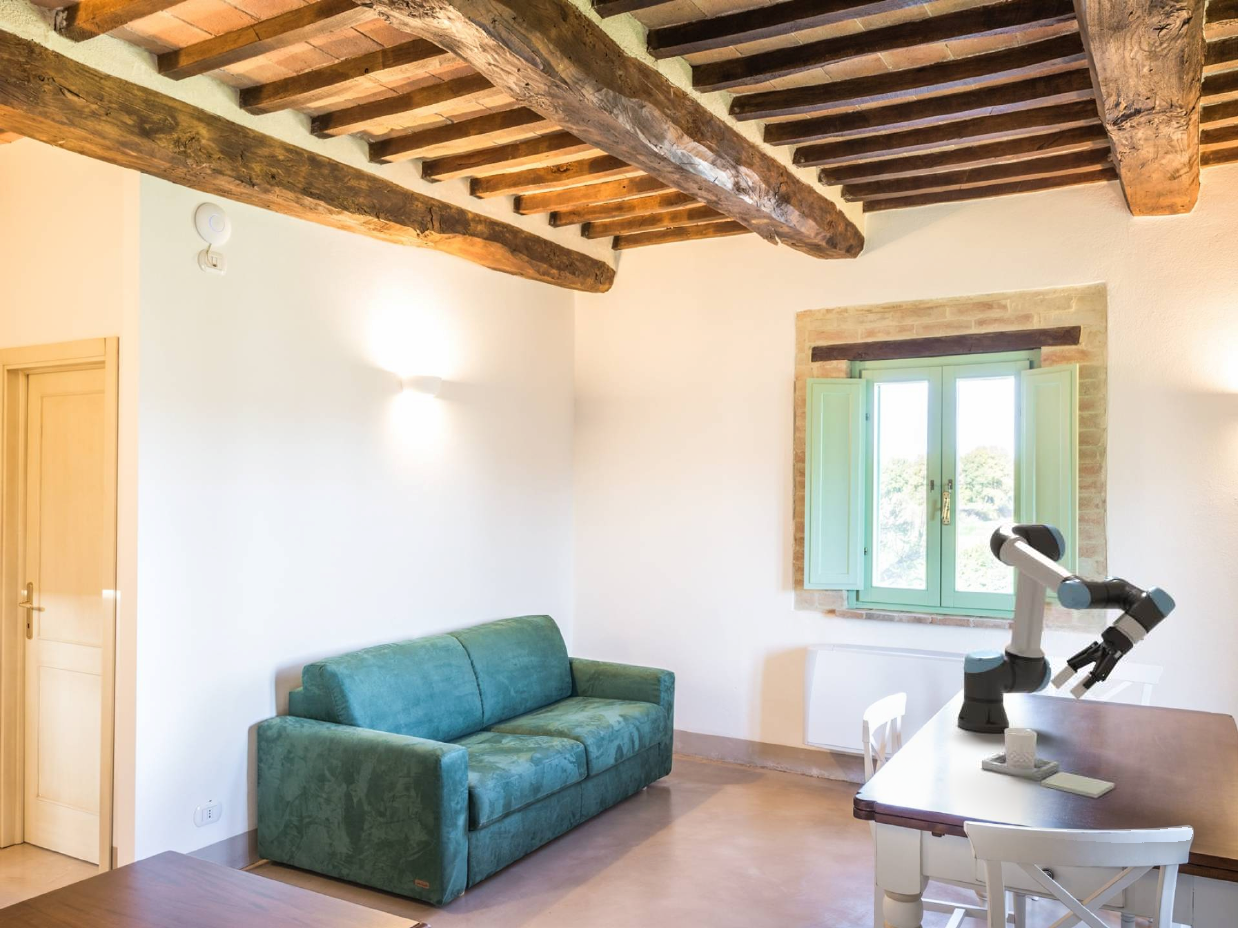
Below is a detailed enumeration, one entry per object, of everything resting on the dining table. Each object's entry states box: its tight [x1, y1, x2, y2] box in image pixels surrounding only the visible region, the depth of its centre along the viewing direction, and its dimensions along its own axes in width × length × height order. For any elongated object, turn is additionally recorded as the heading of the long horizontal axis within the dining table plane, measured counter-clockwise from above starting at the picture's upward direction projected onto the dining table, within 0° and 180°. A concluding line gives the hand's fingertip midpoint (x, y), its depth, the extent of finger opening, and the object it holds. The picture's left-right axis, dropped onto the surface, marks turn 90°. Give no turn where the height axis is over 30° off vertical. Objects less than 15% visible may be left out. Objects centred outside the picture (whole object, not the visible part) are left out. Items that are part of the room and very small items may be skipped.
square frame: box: [981, 750, 1059, 782], centre depth 253 cm, size 14×14×2 cm
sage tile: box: [1040, 771, 1115, 799], centre depth 239 cm, size 13×13×1 cm
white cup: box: [1004, 727, 1038, 771], centre depth 253 cm, size 8×8×10 cm
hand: (1063, 690), depth 252 cm, fingers open, 13 cm apart
